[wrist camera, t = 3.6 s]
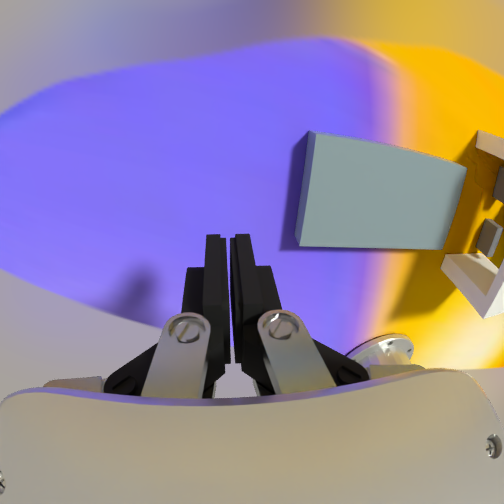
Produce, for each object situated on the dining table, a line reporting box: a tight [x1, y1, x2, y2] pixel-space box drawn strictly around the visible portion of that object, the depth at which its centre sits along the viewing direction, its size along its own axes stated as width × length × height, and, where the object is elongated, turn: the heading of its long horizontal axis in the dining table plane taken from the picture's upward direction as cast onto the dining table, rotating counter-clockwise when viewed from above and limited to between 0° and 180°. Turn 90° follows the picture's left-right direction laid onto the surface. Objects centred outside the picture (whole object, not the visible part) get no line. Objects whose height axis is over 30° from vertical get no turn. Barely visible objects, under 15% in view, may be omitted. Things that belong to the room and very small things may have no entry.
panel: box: [294, 130, 467, 250], centre depth 22 cm, size 9×16×2 cm, turn 86°
